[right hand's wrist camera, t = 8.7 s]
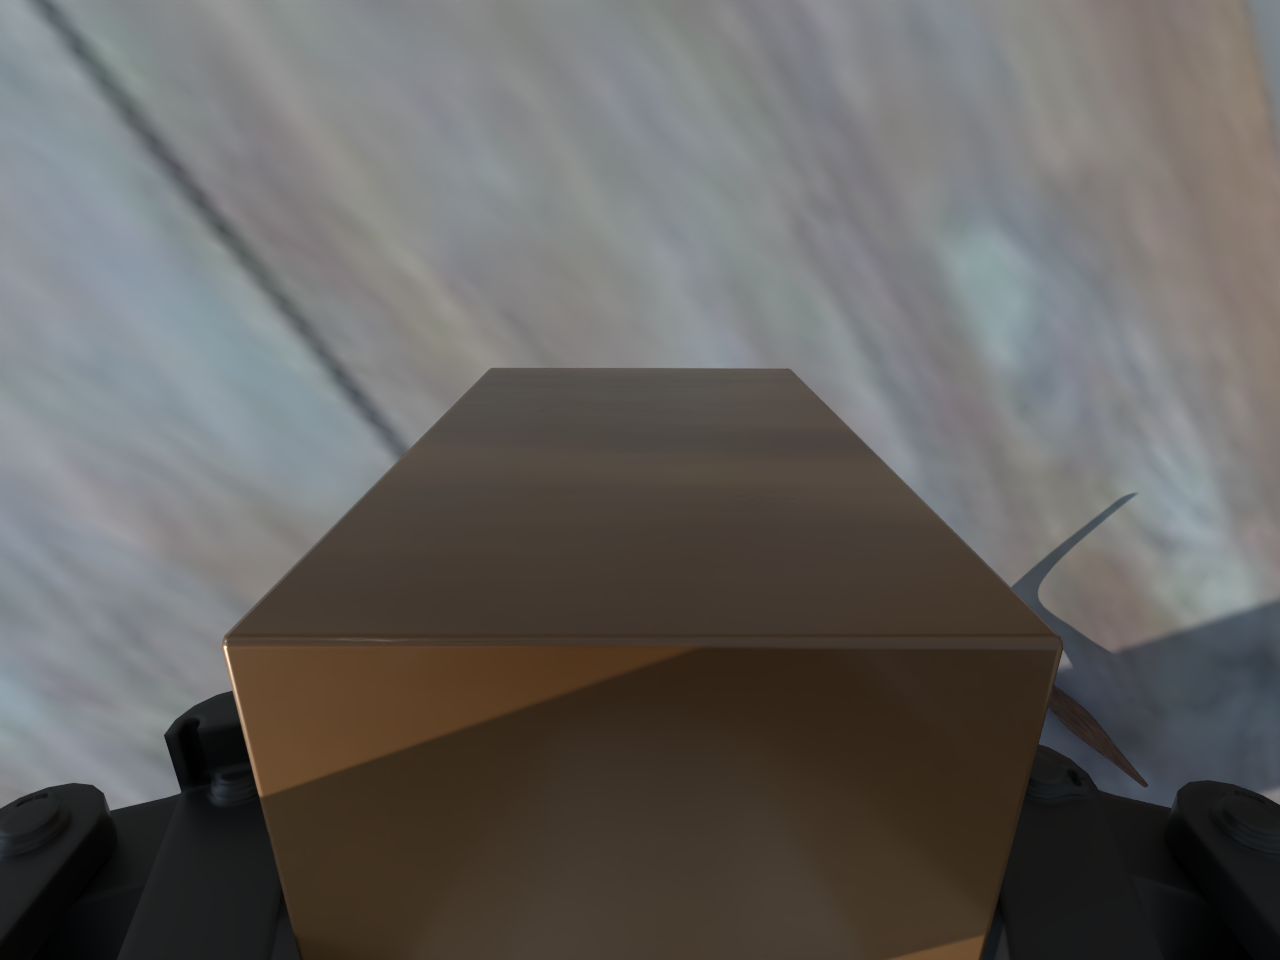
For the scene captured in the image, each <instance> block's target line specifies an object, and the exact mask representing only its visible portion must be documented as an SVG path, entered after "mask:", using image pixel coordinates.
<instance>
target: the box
mask: <svg viewBox="0 0 1280 960" xmlns="http://www.w3.org/2000/svg"><path fill="white" fill-rule="evenodd" d="M222 650H223V654H224V658H225V662H226V666H227V670H228V674H229V678H230V682H231V686H232V690H233V694H234V698H235V702H236V706H237V710H238V714H239V718H240V722H241V726H242V730H243V734H244V738H245V742H246V746H247V750H248V754H249V758H250V762H251V766H252V770H253V774H254V778H255V782H256V786H257V790H258V794H259V798H260V802H261V806H262V810H263V814H264V818H265V822H266V826H267V830H268V834H269V838H270V842H271V846H272V850H273V854H274V858H275V862H276V866H277V870H278V874H279V878H280V882H281V886H282V890H283V894H284V898H285V902H286V906H287V910H288V914H289V918H290V922H291V926H292V930H293V934H294V938H295V942H296V946H297V950H298V954H299V958H300V960H982V959H983V955H984V951H985V947H986V943H987V940H988V936H989V932H990V928H991V924H992V920H993V917H994V913H995V909H996V905H997V901H998V897H999V893H1000V890H1001V886H1002V882H1003V878H1004V874H1005V870H1006V866H1007V863H1008V859H1009V855H1010V851H1011V847H1012V843H1013V840H1014V836H1015V832H1016V828H1017V824H1018V820H1019V816H1020V813H1021V809H1022V805H1023V801H1024V797H1025V793H1026V789H1027V786H1028V782H1029V778H1030V774H1031V770H1032V766H1033V763H1034V759H1035V755H1036V751H1037V747H1038V743H1039V739H1040V736H1041V732H1042V728H1043V724H1044V720H1045V716H1046V713H1047V709H1048V705H1049V701H1050V697H1051V693H1052V689H1053V686H1054V682H1055V678H1056V674H1057V670H1058V666H1059V662H1060V659H1061V655H1062V651H1063V644H1062V640H1061V638H1060V636H1059V635H1058V634H1057V633H1056V632H1055V631H1054V630H1053V629H1052V628H1051V627H1050V626H1049V625H1048V624H1047V623H1046V622H1045V621H1044V620H1043V619H1042V618H1041V617H1040V616H1039V615H1038V614H1037V613H1036V612H1035V611H1034V610H1033V609H1032V608H1031V607H1030V606H1029V605H1028V604H1027V603H1026V602H1025V601H1024V600H1023V599H1022V598H1021V597H1020V596H1019V595H1018V594H1017V593H1016V592H1015V591H1014V590H1013V589H1012V588H1011V587H1010V586H1009V585H1008V584H1007V583H1006V582H1005V581H1004V580H1003V579H1002V578H1001V577H1000V576H999V575H998V574H996V573H995V572H994V571H993V570H992V569H991V568H990V567H989V566H988V565H987V564H986V563H985V562H984V561H983V560H982V559H981V558H980V557H979V556H978V555H977V554H976V553H975V552H974V551H973V550H972V549H971V548H970V547H969V546H968V545H967V544H966V543H965V542H964V541H963V540H962V539H961V538H960V537H959V536H958V535H957V534H956V533H955V532H954V531H953V530H952V529H951V528H950V527H949V526H948V525H947V524H946V523H945V522H944V521H943V520H942V519H941V518H940V517H939V516H938V515H937V514H936V513H935V512H934V511H933V510H932V509H931V508H930V507H929V506H928V505H927V504H926V503H925V502H924V501H923V500H922V499H921V498H920V497H919V496H918V495H917V494H916V493H915V492H914V491H913V490H912V489H911V488H910V487H909V486H908V485H907V484H906V483H905V482H904V481H903V480H902V479H901V478H900V477H899V476H898V475H897V474H896V473H895V472H894V471H893V470H892V469H891V468H890V467H889V466H888V465H887V464H886V463H885V462H884V461H883V460H882V459H881V458H880V457H879V456H878V455H877V454H875V453H874V452H873V451H872V450H871V449H870V448H869V447H868V446H867V445H866V444H865V443H864V442H863V441H862V440H861V439H860V438H859V437H858V436H857V435H856V434H855V433H854V432H853V431H852V430H851V429H850V428H849V427H848V426H847V425H846V424H845V423H844V422H843V421H842V420H841V419H840V418H839V417H838V416H837V415H836V414H835V413H834V412H833V411H832V410H831V409H830V408H829V407H828V406H827V405H826V404H825V403H824V402H823V401H822V400H821V399H820V398H819V397H818V396H817V395H816V394H815V393H814V392H813V391H812V390H811V389H810V388H809V387H808V386H807V385H806V384H805V383H804V382H803V381H802V380H801V379H800V378H799V377H798V376H797V375H796V374H795V373H794V372H793V371H792V370H790V369H706V368H491V369H489V370H488V371H487V372H486V373H485V374H484V375H483V376H482V377H481V378H480V379H479V380H478V381H477V382H476V383H475V384H474V385H473V386H472V387H471V388H470V389H469V390H468V391H467V392H466V393H465V394H464V395H463V396H462V397H461V398H460V399H459V400H458V401H457V402H456V403H455V404H454V405H453V406H452V407H451V408H450V409H449V410H448V411H447V412H446V413H445V414H444V415H443V416H442V417H441V418H440V419H439V420H438V421H437V422H436V423H435V424H434V425H433V426H432V427H431V428H430V429H429V430H428V431H427V432H426V433H425V434H424V435H423V437H422V438H421V439H420V440H419V441H418V442H417V443H416V444H415V445H414V446H413V447H412V448H411V449H410V450H409V451H408V452H407V453H406V454H405V455H404V456H403V457H402V458H401V459H400V460H399V461H398V462H397V463H396V464H395V465H394V466H393V467H392V468H391V469H390V470H389V471H388V472H387V473H386V474H385V475H384V476H383V477H382V478H381V479H380V480H379V481H378V482H377V483H376V484H375V485H374V486H373V487H372V488H371V489H370V490H369V491H368V492H367V493H366V494H365V495H364V496H363V497H362V498H361V499H360V500H359V501H358V502H357V503H356V504H355V505H354V506H353V507H352V508H351V509H350V510H349V511H348V512H347V513H346V514H345V515H344V516H343V517H342V518H341V519H340V520H339V521H338V522H337V523H336V524H335V525H334V526H333V527H332V528H331V529H330V530H329V531H328V532H327V533H326V534H325V535H324V536H323V537H322V538H321V539H320V540H319V541H318V542H317V543H316V544H315V545H314V546H313V547H312V548H311V549H310V550H309V551H308V552H307V553H306V554H305V555H304V556H303V557H302V558H301V559H300V560H299V561H298V562H297V563H296V564H295V565H294V566H293V567H292V568H291V569H290V570H289V571H288V572H287V573H286V574H285V575H284V576H283V577H282V578H281V579H280V580H279V581H278V582H277V583H276V584H275V585H274V586H273V587H272V588H271V589H270V590H269V591H268V592H267V593H266V594H265V595H264V596H263V597H262V598H261V599H260V600H259V601H258V602H257V603H256V604H255V606H254V607H253V608H252V609H251V610H250V611H249V612H248V613H247V614H246V615H245V616H244V617H243V618H242V619H241V620H240V621H239V622H238V623H237V624H236V625H235V626H234V627H233V628H232V629H231V630H230V631H229V632H228V633H227V634H226V635H225V636H224V639H223V643H222Z"/></svg>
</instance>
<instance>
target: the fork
mask: <svg viewBox="0 0 1280 960" xmlns="http://www.w3.org/2000/svg"><path fill="white" fill-rule="evenodd" d="M1048 706H1049V707H1050V708H1051V710H1052V711H1053V712H1054V713H1055V715H1056V716H1057V717H1058V718H1059V719H1060V720H1061V721H1062V723H1063V724H1064V725H1065V726H1066V727H1067V728H1068V729H1070V730H1071V731H1072V732H1073V733H1074V734H1075V735H1077V736H1078V737H1079V738H1080V739H1082V740H1083V741H1084V742H1086V743H1087V744H1088V745H1090V746H1091V747H1093V748H1094V749H1095V750H1097V751H1098V752H1099V753H1101V754H1102V755H1103V756H1105V757H1106V758H1107V759H1109V760H1110V761H1111V762H1113V763H1114V764H1115V765H1117V766H1118V767H1119V768H1120V769H1122V770H1123V771H1124V772H1126V773H1127V774H1128V775H1129V776H1131V777H1132V778H1133V779H1134V780H1136V781H1137V782H1138V783H1139V784H1141V785H1142V786H1144V787H1147V786H1148V784H1147V783H1146V782H1145V781H1144V779H1143V778H1142V777H1141V776H1140V775H1139V773H1138V772H1137V771H1136V770H1135V769H1134V768H1133V766H1132V765H1131V764H1130V763H1129V762H1128V760H1127V759H1126V758H1125V757H1124V755H1123V754H1122V753H1121V752H1120V750H1119V749H1118V748H1117V747H1116V745H1115V744H1114V743H1113V741H1112V740H1111V739H1110V738H1109V736H1108V735H1107V734H1106V732H1105V731H1104V730H1103V729H1102V727H1101V726H1100V725H1099V724H1098V722H1097V721H1096V720H1095V719H1094V718H1093V717H1092V716H1091V715H1090V714H1089V713H1088V712H1087V711H1086V710H1085V709H1084V708H1083V707H1082V706H1081V705H1079V704H1078V703H1077V702H1076V701H1074V700H1073V699H1072V698H1071V697H1069V696H1068V695H1067V694H1065V693H1064V692H1063V691H1061V690H1060V689H1059V688H1057V687H1056V686H1055V685H1054V686H1053V689H1052V693H1051V697H1050V701H1049V705H1048Z"/></svg>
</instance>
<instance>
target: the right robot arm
mask: <svg viewBox="0 0 1280 960" xmlns="http://www.w3.org/2000/svg"><path fill="white" fill-rule="evenodd" d="M164 737H165V740H166V743H167V746H168V750H169V753H170V756H171V759H172V763H173V766H174V769H175V772H176V776H177V779H178V782H179V785H180V789H181V793H180V794H177V795H174V796H171V797H167V798H163V799H159V800H155V801H150V802H146V803H142V804H138V805H133V806H129V807H125V808H120V809H116V810H112V811H110V810H109V807H108V804H107V801H106V799H105V796H104V793H102V792H101V791H100V790H99V789H97V788H96V787H95V786H93V785H87V784H78V783H70V784H65V785H59V786H53V787H48V788H45V789H42V790H40V791H37V792H34V793H31V794H29V795H26V796H24V797H21V798H19V799H17V800H15V801H13V802H12V803H10V804H8V805H6V806H4V807H3V808H1V809H0V960H300V958H299V954H298V950H297V946H296V942H295V938H294V934H293V930H292V926H291V922H290V918H289V914H288V910H287V906H286V902H285V898H284V894H283V890H282V886H281V882H280V878H279V874H278V870H277V866H276V862H275V858H274V854H273V850H272V846H271V842H270V838H269V834H268V830H267V826H266V822H265V818H264V814H263V810H262V806H261V802H260V798H259V794H258V790H257V786H256V782H255V778H254V774H253V770H252V766H251V762H250V758H249V754H248V750H247V746H246V742H245V738H244V734H243V730H242V726H241V722H240V718H239V714H238V710H237V706H236V702H235V698H234V694H233V691H230V692H226V693H222V694H219V695H216V696H214V697H212V698H210V699H208V700H205V701H203V702H201V703H199V704H197V705H195V706H193V707H192V708H191V709H189V710H188V711H187V712H185V713H184V714H183V715H181V716H180V717H179V718H177V719H176V720H175V721H174V723H173V724H172V725H171V727H170V728H169V729H168V731H167V732H166V733H165V735H164ZM982 960H1280V805H1279V804H1277V803H1275V802H1274V801H1272V800H1270V799H1268V798H1266V797H1265V796H1263V795H1260V794H1258V793H1255V792H1253V791H1250V790H1247V789H1244V788H1241V787H1239V786H1236V785H1233V784H1227V783H1221V782H1216V781H1210V780H1206V781H1197V782H1189V783H1187V784H1186V785H1185V786H1183V787H1182V788H1181V789H1179V790H1178V792H1177V795H1176V797H1175V800H1174V803H1173V806H1172V808H1168V807H1164V806H1159V805H1155V804H1151V803H1146V802H1142V801H1138V800H1133V799H1129V798H1125V797H1121V796H1116V795H1113V794H1109V793H1106V792H1103V791H1099V790H1098V788H1097V787H1096V785H1095V784H1094V782H1093V781H1092V779H1091V778H1090V776H1089V775H1088V774H1087V773H1086V772H1085V771H1084V770H1083V769H1082V768H1080V767H1079V766H1078V765H1077V764H1076V763H1074V762H1073V761H1072V760H1071V759H1069V758H1067V757H1066V756H1064V755H1062V754H1060V753H1058V752H1056V751H1054V750H1053V749H1051V748H1049V747H1046V746H1042V745H1039V744H1038V747H1037V751H1036V755H1035V759H1034V763H1033V766H1032V770H1031V774H1030V778H1029V782H1028V786H1027V789H1026V793H1025V797H1024V801H1023V805H1022V809H1021V813H1020V816H1019V820H1018V824H1017V828H1016V832H1015V836H1014V840H1013V843H1012V847H1011V851H1010V855H1009V859H1008V863H1007V866H1006V870H1005V874H1004V878H1003V882H1002V886H1001V890H1000V893H999V897H998V901H997V905H996V909H995V913H994V917H993V920H992V924H991V928H990V932H989V936H988V940H987V943H986V947H985V951H984V955H983V959H982Z"/></svg>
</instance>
